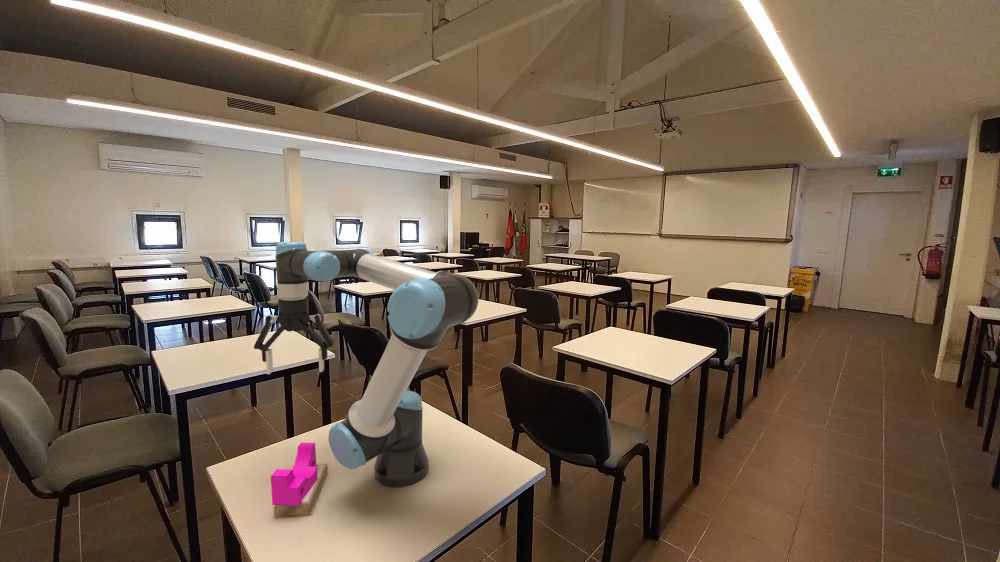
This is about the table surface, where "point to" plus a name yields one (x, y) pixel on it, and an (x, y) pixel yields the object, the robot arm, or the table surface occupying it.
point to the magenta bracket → (295, 477)
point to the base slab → (308, 500)
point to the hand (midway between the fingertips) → (296, 371)
